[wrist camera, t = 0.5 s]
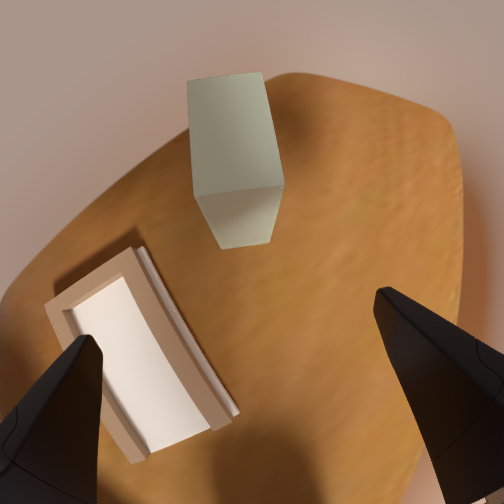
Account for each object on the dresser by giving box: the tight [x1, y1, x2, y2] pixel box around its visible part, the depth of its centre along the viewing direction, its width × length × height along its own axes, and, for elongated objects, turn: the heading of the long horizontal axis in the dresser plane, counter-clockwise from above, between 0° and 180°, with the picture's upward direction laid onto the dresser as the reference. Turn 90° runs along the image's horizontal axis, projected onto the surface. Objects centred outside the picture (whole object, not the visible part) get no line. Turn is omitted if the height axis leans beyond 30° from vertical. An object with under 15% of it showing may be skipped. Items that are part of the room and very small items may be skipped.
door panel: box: [187, 72, 285, 250], centre depth 17 cm, size 6×4×11 cm, turn 8°
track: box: [44, 246, 240, 464], centre depth 20 cm, size 14×10×2 cm
